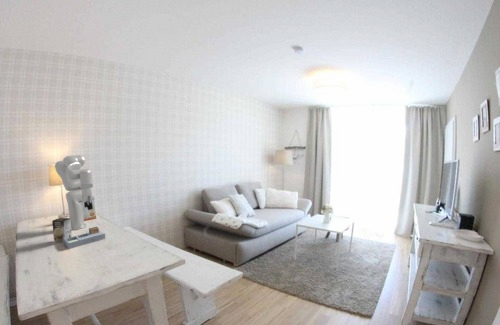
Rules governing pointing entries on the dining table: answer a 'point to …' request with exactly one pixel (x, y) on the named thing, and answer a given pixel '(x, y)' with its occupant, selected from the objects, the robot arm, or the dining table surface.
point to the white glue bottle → (89, 213)
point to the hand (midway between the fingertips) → (88, 208)
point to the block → (93, 230)
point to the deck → (82, 239)
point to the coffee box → (61, 229)
